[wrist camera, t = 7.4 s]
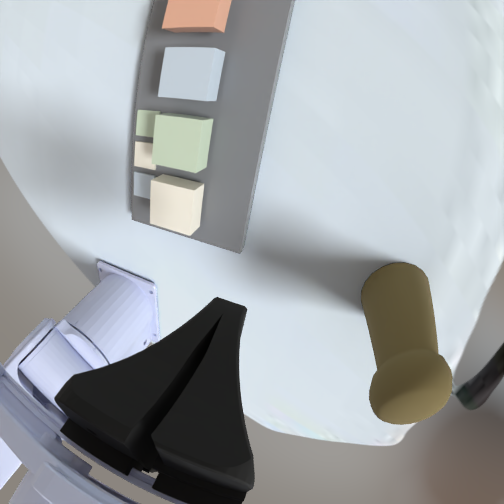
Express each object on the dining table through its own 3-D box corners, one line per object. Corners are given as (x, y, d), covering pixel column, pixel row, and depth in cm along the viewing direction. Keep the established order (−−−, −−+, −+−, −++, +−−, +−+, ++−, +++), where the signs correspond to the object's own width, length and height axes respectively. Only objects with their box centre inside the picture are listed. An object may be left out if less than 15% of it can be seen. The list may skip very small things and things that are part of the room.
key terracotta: (224, 32, 13) (213, 27, 11) (175, 32, 13) (161, 28, 12) (234, -12, 11) (225, -21, 9) (185, -10, 11) (173, -17, 10)
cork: (348, 308, 22) (341, 427, 13) (383, 251, 19) (407, 373, 10) (404, 328, 22) (416, 439, 13) (442, 278, 18) (483, 391, 9)
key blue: (216, 101, 16) (205, 101, 14) (170, 96, 16) (157, 96, 15) (225, 52, 14) (215, 47, 13) (178, 50, 14) (165, 47, 13)
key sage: (206, 167, 18) (195, 173, 17) (164, 158, 19) (151, 163, 17) (213, 118, 16) (202, 120, 15) (168, 112, 17) (155, 114, 15)
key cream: (199, 226, 21) (190, 235, 19) (161, 215, 21) (149, 223, 20) (204, 183, 19) (194, 190, 17) (163, 174, 19) (150, 180, 18)
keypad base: (243, 247, 22) (239, 255, 21) (138, 215, 23) (130, 220, 22) (297, -11, 11) (294, -18, 10) (165, -11, 13) (156, -15, 12)
